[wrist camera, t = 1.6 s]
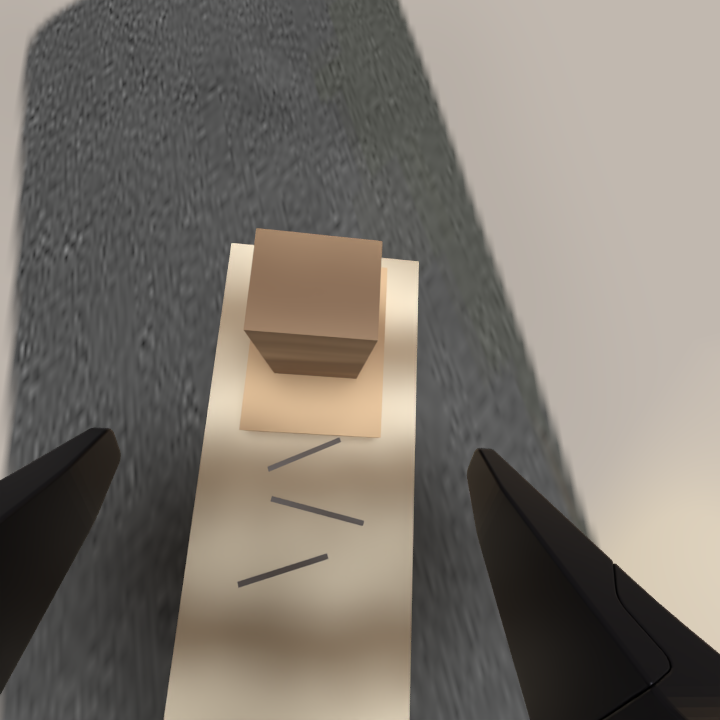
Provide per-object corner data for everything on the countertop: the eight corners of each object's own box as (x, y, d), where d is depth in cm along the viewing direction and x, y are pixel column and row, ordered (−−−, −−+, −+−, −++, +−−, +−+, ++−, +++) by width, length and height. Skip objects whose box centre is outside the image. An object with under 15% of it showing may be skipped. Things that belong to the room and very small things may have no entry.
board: (393, 744, 18) (407, 804, 15) (180, 748, 17) (150, 812, 14) (406, 284, 23) (418, 261, 20) (243, 269, 22) (231, 242, 19)
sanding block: (374, 437, 18) (418, 436, 10) (248, 430, 17) (181, 422, 9) (380, 284, 20) (424, 171, 11) (266, 274, 19) (224, 148, 11)
